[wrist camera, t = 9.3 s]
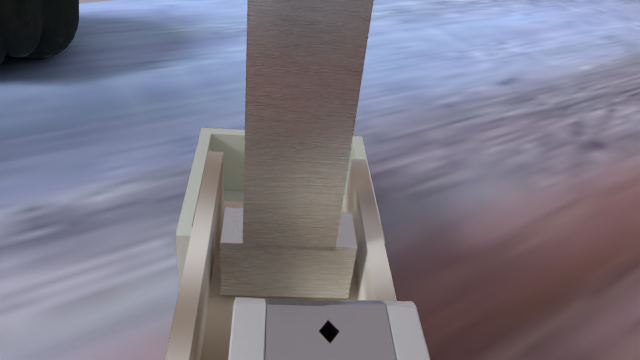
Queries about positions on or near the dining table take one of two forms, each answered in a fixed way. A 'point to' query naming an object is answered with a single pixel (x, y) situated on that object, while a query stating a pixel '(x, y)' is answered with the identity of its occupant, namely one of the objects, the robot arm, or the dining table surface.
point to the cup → (229, 178)
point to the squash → (36, 27)
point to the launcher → (217, 310)
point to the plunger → (297, 150)
